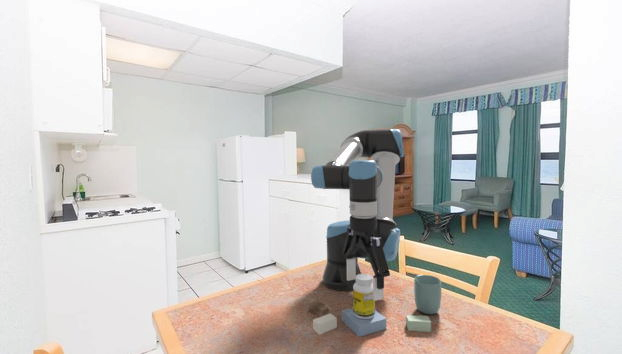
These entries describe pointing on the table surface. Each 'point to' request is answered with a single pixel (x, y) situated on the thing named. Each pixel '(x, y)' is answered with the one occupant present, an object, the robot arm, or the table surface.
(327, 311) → the walnut brick
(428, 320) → the sage brick
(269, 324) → the table surface
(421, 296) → the cup
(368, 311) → the pill bottle
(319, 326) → the cream brick
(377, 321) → the slab
